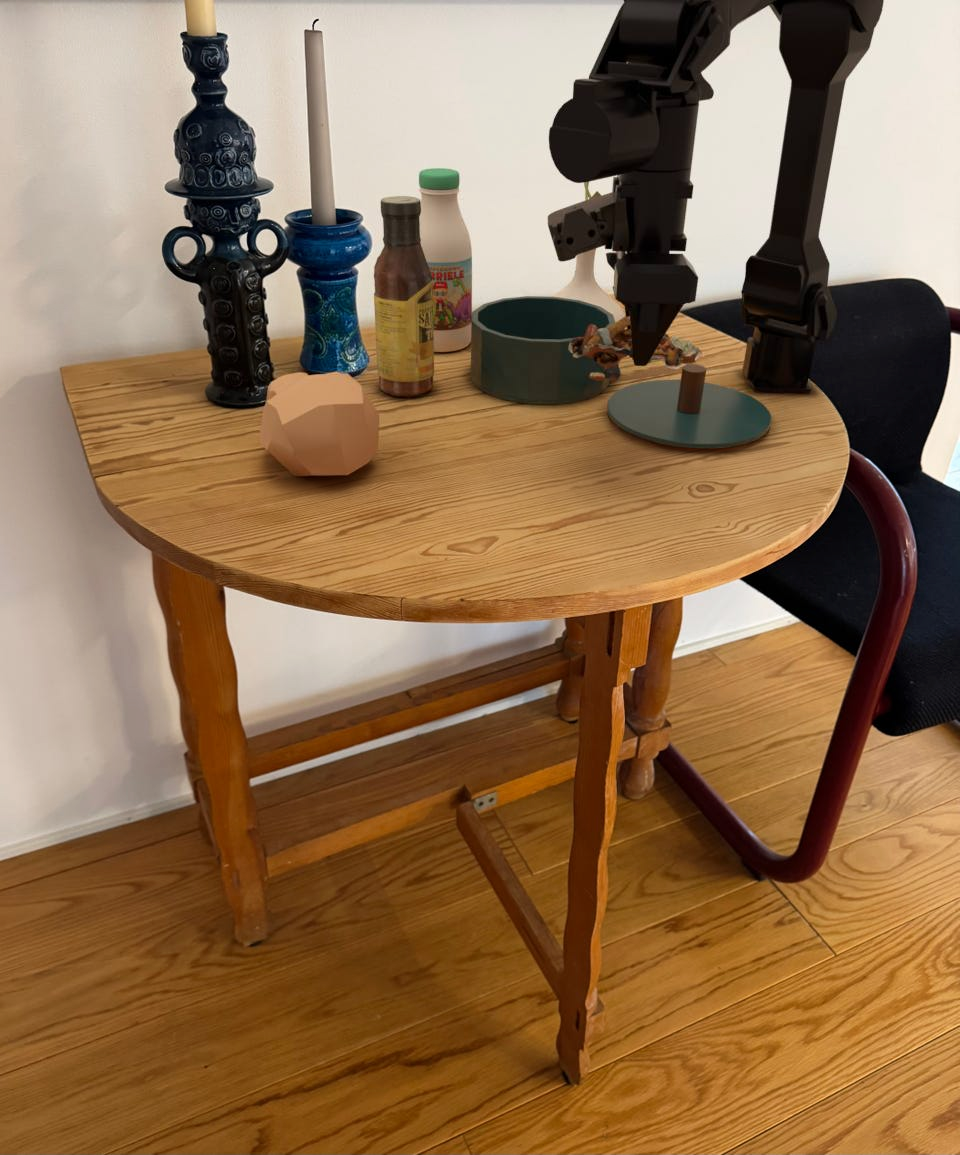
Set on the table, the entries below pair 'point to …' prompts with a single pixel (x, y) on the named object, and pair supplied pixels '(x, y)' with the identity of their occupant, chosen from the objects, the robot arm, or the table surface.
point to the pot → (535, 349)
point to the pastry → (628, 349)
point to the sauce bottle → (403, 302)
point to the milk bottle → (446, 258)
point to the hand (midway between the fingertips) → (636, 351)
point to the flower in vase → (589, 281)
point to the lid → (689, 412)
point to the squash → (319, 424)
